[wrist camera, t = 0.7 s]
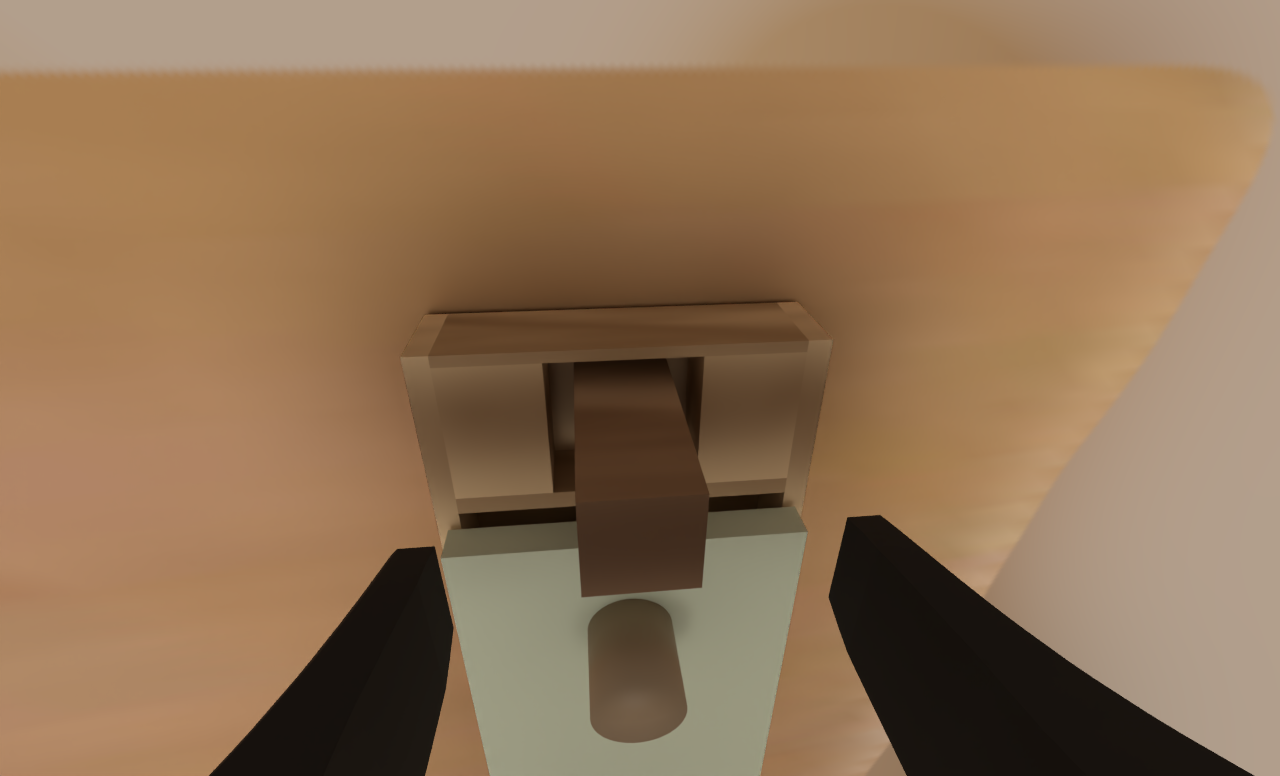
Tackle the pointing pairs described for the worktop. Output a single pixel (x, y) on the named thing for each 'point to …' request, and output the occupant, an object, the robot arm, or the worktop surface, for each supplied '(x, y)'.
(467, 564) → the lid
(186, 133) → the worktop surface
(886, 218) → the worktop surface
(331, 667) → the robot arm
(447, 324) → the shallow wooden tray
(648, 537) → the dark brown rectangular block
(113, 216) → the worktop surface
